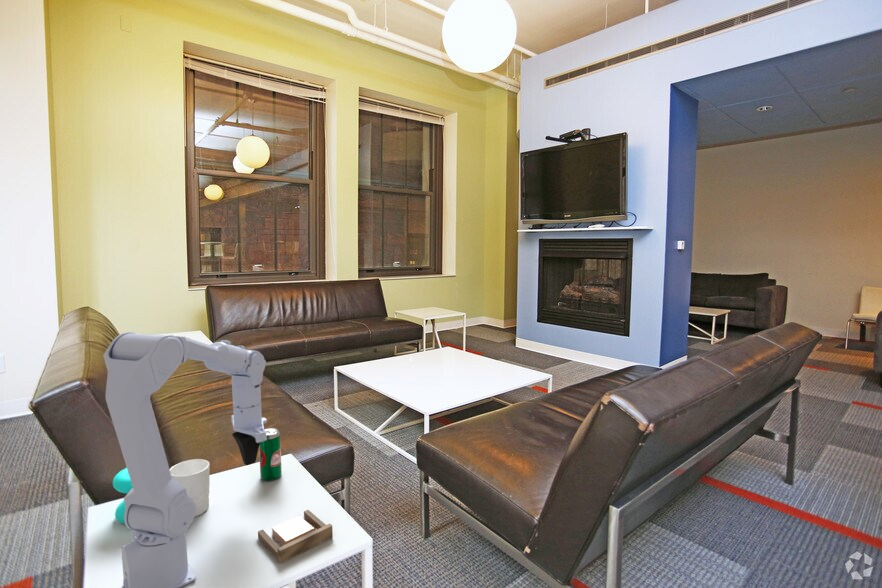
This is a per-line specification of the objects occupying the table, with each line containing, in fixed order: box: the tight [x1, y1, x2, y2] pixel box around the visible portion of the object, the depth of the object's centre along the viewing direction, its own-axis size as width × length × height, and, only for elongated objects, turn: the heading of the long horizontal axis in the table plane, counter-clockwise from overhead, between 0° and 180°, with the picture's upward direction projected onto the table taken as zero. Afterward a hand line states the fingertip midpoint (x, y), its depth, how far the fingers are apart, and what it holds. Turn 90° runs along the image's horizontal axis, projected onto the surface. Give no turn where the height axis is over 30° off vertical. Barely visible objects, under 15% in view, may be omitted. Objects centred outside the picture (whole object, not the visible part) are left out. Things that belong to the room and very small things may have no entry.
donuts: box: [112, 467, 133, 525], centre depth 100 cm, size 10×10×10 cm
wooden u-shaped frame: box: [257, 509, 334, 564], centre depth 92 cm, size 11×10×2 cm
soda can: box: [258, 427, 283, 482], centre depth 116 cm, size 5×5×12 cm
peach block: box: [271, 515, 315, 546], centre depth 93 cm, size 6×6×2 cm
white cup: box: [169, 458, 210, 518], centre depth 101 cm, size 8×8×10 cm
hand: (249, 462), depth 102 cm, fingers closed
